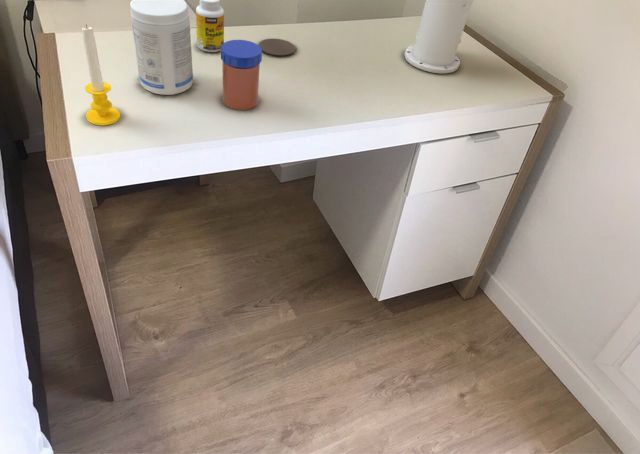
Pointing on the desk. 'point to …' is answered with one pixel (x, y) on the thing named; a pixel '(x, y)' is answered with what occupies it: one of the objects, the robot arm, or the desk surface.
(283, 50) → the coaster
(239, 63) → the jar lid
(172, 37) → the supplement tub
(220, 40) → the supplement bottle
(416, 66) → the robot arm
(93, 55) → the candle
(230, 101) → the jar
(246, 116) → the desk surface
